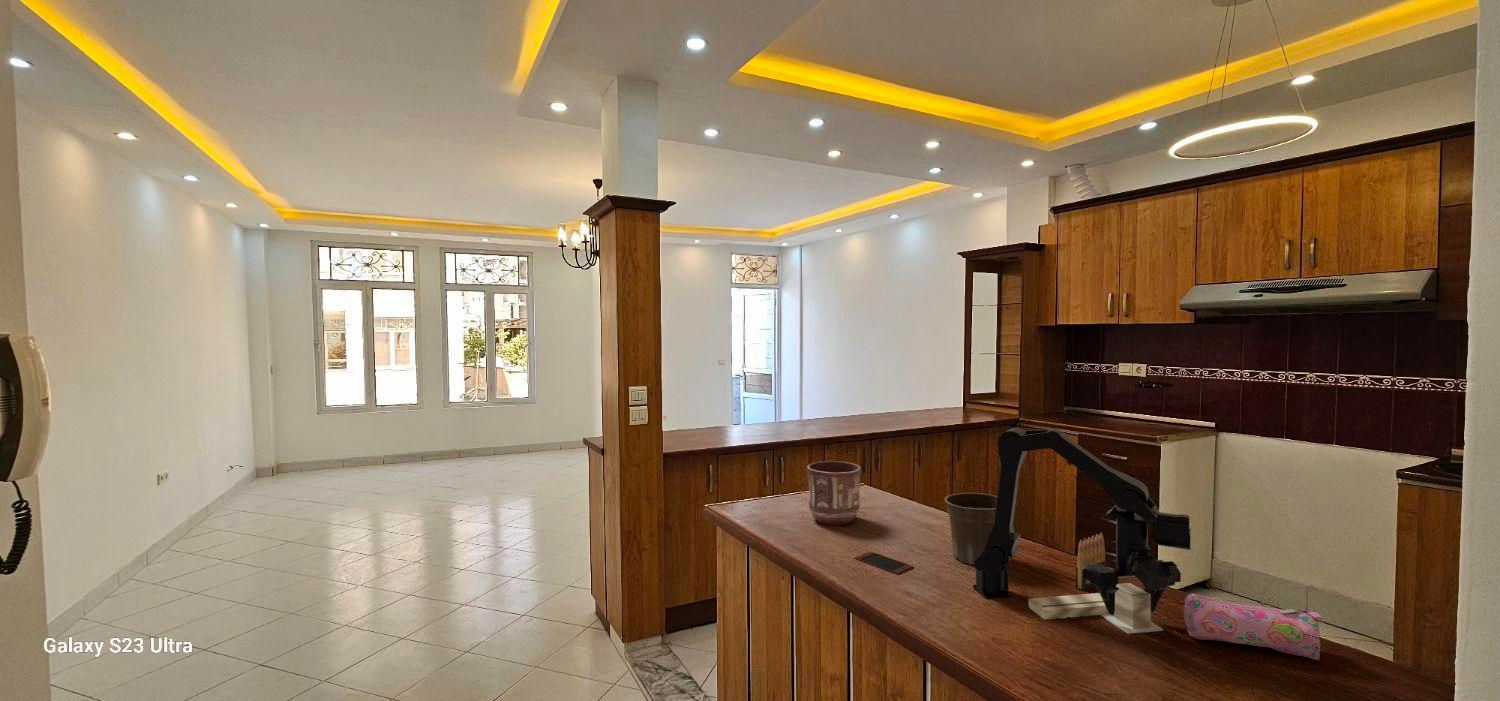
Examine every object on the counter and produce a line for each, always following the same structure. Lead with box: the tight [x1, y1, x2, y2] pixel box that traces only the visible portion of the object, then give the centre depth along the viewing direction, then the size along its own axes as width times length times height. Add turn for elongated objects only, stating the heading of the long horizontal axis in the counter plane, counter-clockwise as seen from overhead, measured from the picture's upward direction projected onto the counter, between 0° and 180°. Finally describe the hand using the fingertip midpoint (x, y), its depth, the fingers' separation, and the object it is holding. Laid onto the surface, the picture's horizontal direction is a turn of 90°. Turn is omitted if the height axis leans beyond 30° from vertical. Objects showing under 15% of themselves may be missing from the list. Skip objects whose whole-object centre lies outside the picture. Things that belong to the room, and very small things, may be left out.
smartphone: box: [854, 551, 915, 576], centre depth 169 cm, size 7×1×15 cm
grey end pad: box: [1100, 614, 1164, 635], centre depth 133 cm, size 8×8×1 cm
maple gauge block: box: [1113, 582, 1152, 629], centre depth 133 cm, size 4×6×7 cm, turn 7°
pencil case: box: [1183, 593, 1324, 661], centre depth 123 cm, size 21×9×9 cm, turn 64°
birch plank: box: [1028, 592, 1109, 620], centre depth 140 cm, size 22×6×2 cm, turn 98°
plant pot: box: [944, 492, 997, 566], centre depth 171 cm, size 16×16×16 cm
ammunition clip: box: [1075, 532, 1108, 592], centre depth 153 cm, size 11×2×12 cm, turn 122°
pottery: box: [806, 460, 862, 526], centre depth 207 cm, size 18×18×18 cm
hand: (1131, 612), depth 133 cm, fingers open, 9 cm apart
